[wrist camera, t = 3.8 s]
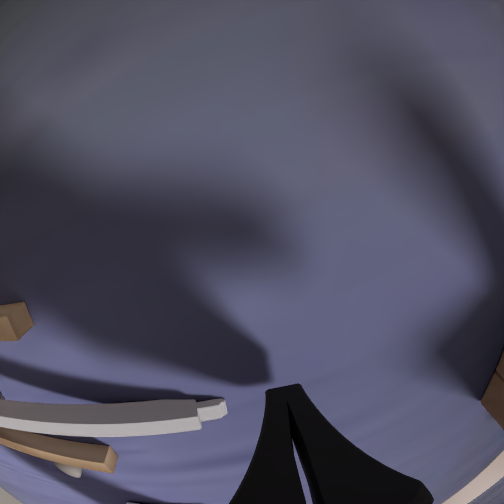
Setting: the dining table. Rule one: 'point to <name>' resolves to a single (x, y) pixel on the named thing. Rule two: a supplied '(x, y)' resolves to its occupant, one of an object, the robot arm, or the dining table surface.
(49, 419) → the caliper
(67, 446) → the rails
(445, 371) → the dining table surface
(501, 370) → the brown wooden frame
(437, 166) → the dining table surface
